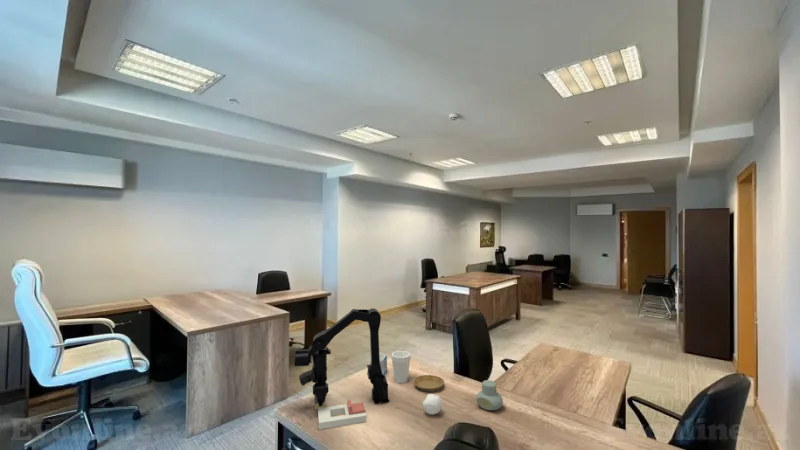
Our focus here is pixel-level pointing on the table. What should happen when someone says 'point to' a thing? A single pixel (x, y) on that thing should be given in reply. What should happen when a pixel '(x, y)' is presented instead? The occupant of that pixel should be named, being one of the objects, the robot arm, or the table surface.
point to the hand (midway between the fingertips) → (320, 401)
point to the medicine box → (383, 363)
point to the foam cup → (401, 365)
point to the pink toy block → (355, 407)
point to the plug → (318, 403)
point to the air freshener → (489, 396)
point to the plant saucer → (428, 383)
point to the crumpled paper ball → (432, 404)
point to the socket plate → (338, 417)
